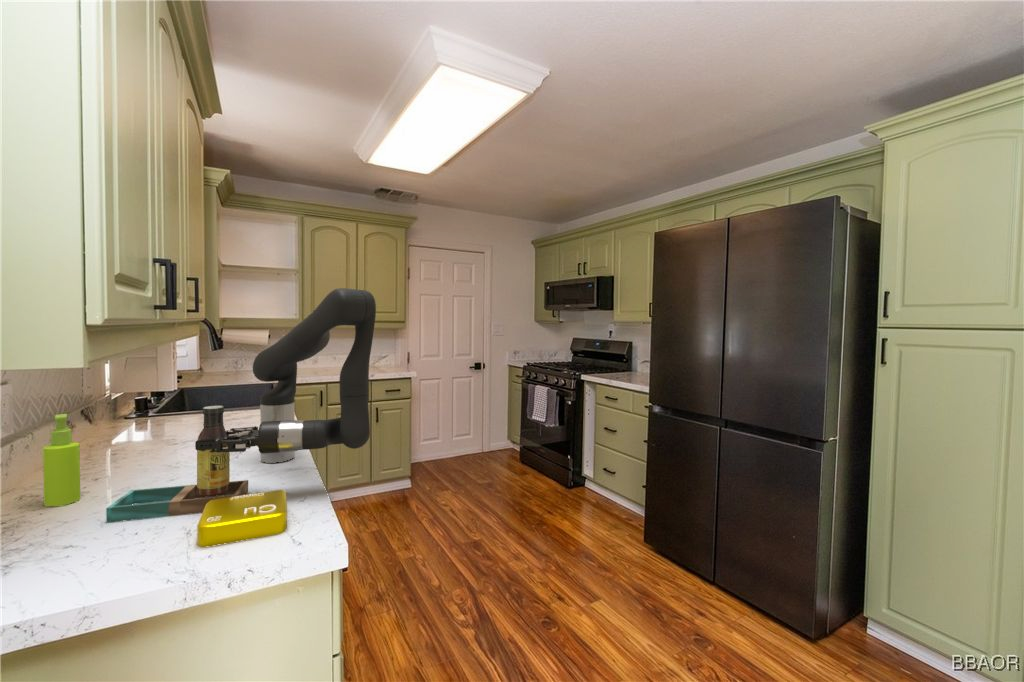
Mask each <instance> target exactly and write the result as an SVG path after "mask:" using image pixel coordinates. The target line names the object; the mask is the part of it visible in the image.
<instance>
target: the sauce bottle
mask: <svg viewBox="0 0 1024 682" xmlns="http://www.w3.org/2000/svg"><path fill="white" fill-rule="evenodd" d="M224 407H225V406H223V405H208V406H204V407H202V414H203V428H202V430H201V432H199V434H198V436H197V440H203V439H217V438H224V437H227V434H226V428H225V426H224V412H225V408H224ZM226 445H227V444H226V443H225V444H223V446H226ZM230 453H231V452H220V453H218V452H216V450H215V449H211V450H196V485H197V487H198V494H199V495H200V496H214V495H218V494H221V493H224V492H226V491H227V490H228V488H229V482H231V481H230V480H231V479H230V475H231V474H230V470H231V469H230V463H231V462H230V455H231V454H230ZM214 497H215V496H214Z"/></svg>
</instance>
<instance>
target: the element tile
mask: <svg viewBox="0 0 1024 682" xmlns="http://www.w3.org/2000/svg"><path fill="white" fill-rule="evenodd" d="M287 507H288V505H287V492H286V491H285V490H282V489H277V490H271V491H270V490H269V491H263V492H258V493H257V492H255V493H249V494H248V493H247V495H241V496H234V497H226V498H219V499H213V500H210V501H209V502H208V503H207V504H206V505H205V508H204V510H203V513H201V516H200V518H199V521H198V523H197V526H196V528H197V529H196V533H197V537H196V538H197V542H196V543H197V546H198V547H199V548H207V547H206V546H210V547H214V546H213V545H216V546H219V545H218V544H221V545H225V544H224V543H227V544H231V543H230V542H233V543H237V542H236V541H238V542H242V541H241V540H244V541H247V540H246V539H249V540H254V539H253V538H255V539H258V538H259V539H260V538H265V537H271V536H276V535H280V534H282V533H284V532H286V530H287V529H288V522H287V521H288V519H287V518H288V517H287V516H288V514H287V513H288V512H287V511H288V509H287Z"/></svg>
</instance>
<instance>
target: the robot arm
mask: <svg viewBox="0 0 1024 682" xmlns="http://www.w3.org/2000/svg"><path fill="white" fill-rule="evenodd" d="M376 306H377V305H376V299H375V296H374V295H373V294H372V293H371V292H370V291H369V290H365V289H355V288H346V287H345V288H343V287H342V288H341V287H340V288H335V289H333V290H331V291H330V292H329V293H328V294H327V295H326V296H325V297H324V298H323V300H322V301H321V302H320V303H319V304H318V306H316V308H315V309H314V310H313V311H312V312H311V313H310V314H309V315H308V316H307V317H306V318H304V319H303V320H302V321H300V322H299V323H298V324H296V325H295V326H294V327H293V328H291V330H290V331H289V332H288V333H287V334H285V335H284V336H283V337H281V338H280V339H279V340H278V341H277V342H275V343H274V344H272V345H271V346H270V345H269V346H268V347H267V348H265V349H263V350H262V351H260V352H259V353H258V354H257V355H256V356H255V358H254V361H253V363H252V372H253V375H254V377H255V378H256V379H257V380H258V381H261V382H266V383H267V382H268V383H270V382H277V384H276V385H275V386H274V387H273V388H272V389H269V390H267V391H265V392H264V393H263V394H261V395H260V400H259V402H260V403H259V404H260V407H259V408H260V424H259V426H257V425H256V426H248V427H237V428H234V427H233V428H230V429H227V430H226V429H225V431H226V434H227V437H224V438H217V439H203V440H198V439H197V440H196V441H195V444H194V445H195V447H194V448H195V450H196V451H197V450H211V449H215V450H216V452H218V453H220V452H230V453H238V452H240V453H241V452H242V453H243V452H244V453H245V452H246V451H247V450H249V449H251V447H258V452H259V454H260V462H261V461H262V462H261V463H264V462H265V463H266V464H277V463H276V462H279V463H284V462H283V461H285V462H288V461H291V460H293V459H294V458H295V457H296V456H295V454H296V453H295V452H297V451H306V450H307V451H308V450H317V449H324V448H327V447H328V446H331V445H342V444H343V445H344V446H345V447H347V448H349V449H354V450H355V449H359V448H362V447H363V446H364V445H366V444H367V443H368V441H369V439H370V437H371V436H370V435H371V428H370V427H371V425H370V413H369V411H370V410H369V401H370V385H369V384H370V379H369V378H370V377H369V376H370V360H371V352H372V346H373V345H372V344H373V339H374V332H375V331H374V330H375V323H376V316H377V307H376ZM341 326H351V327H352V326H354V330H355V333H354V341H353V344H352V346H351V349H350V351H349V353H348V355H347V357H346V359H345V361H344V363H343V365H342V367H341V369H340V373H339V381H338V383H339V403H340V417H336V418H330V419H310V420H297V419H295V397H296V394H297V377H298V363H299V362H300V363H301V362H302V361H306V360H308V359H311V358H312V357H315V356H317V354H319V353H320V352H321V351H323V350H324V349H325V348H326V347H327V345H328V344H329V341H330V337H331V334H330V331H331V330H332V329H334V328H336V327H341ZM225 443H226V444H227V445H226V446H223V444H225ZM294 456H295V457H294ZM292 458H293V459H292ZM290 459H291V460H290ZM287 460H288V461H287Z"/></svg>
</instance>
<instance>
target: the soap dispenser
mask: <svg viewBox="0 0 1024 682" xmlns="http://www.w3.org/2000/svg"><path fill="white" fill-rule="evenodd" d="M67 419H68V414H67V413H62V414H61V413H60V414H55V415H54V421H55V428H54V429H53V430H51V431H50V444H48V445H45V446H44V447H42V460H43V461H42V464H43V466H42V467H43V501H44V502H43V503H44V504H43V505H45V506H58V507H61V506H60V505H64V506H67V505H66V504H68V505H70V503H72V504H74V503H77V502H78V500H79V499H80V498H81V497H82V496H81V456H80V455H81V454H80V452H81V451H80V450H81V449H80V447H81V446H80V443H79V442H77V441H76V442H75V441H74V442H73V438H72V436H73V435H72V434H73V432H72V431H73V430H72V428H69V427H67ZM80 500H81V499H80ZM80 500H79V501H80ZM76 501H77V502H76ZM73 502H74V503H73ZM45 506H44V507H45Z"/></svg>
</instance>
